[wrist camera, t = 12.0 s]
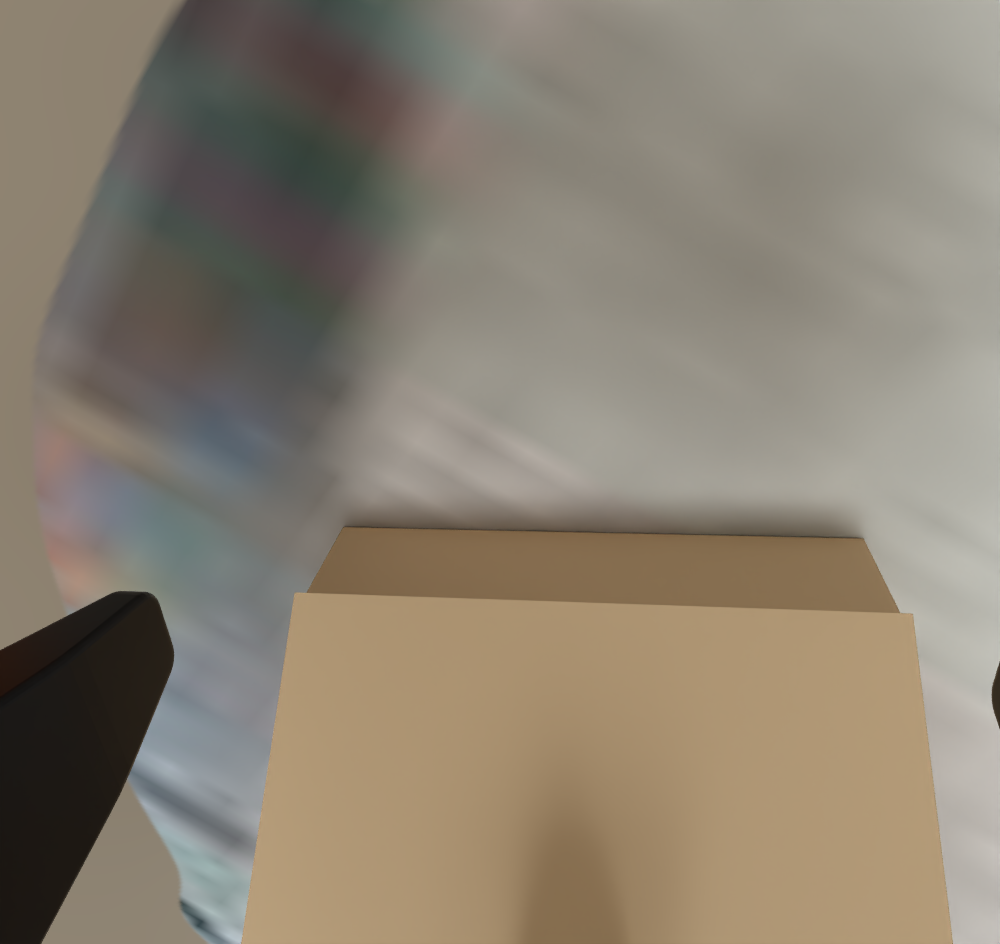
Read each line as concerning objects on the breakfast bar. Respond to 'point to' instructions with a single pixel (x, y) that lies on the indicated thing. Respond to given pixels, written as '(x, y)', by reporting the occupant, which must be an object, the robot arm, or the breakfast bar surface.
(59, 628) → the robot arm
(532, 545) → the carton
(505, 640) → the lid flap
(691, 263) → the breakfast bar surface
